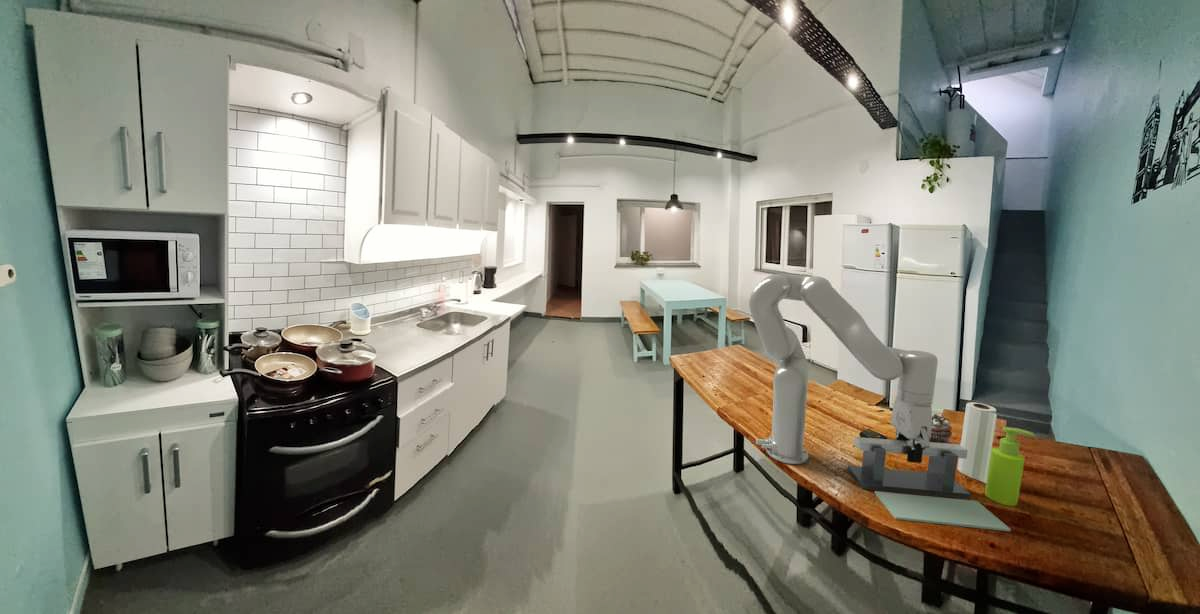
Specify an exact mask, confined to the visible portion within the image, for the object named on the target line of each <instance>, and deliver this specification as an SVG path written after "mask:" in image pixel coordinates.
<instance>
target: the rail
mask: <svg viewBox="0 0 1200 614" xmlns="http://www.w3.org/2000/svg"><path fill="white" fill-rule="evenodd" d="M917 443H919V441H915V444H917ZM930 445H931V446H930V447H928V448H926V449H925V450H924V451H923V454H922V456H927V457H929V456H939V457H943V456H944V453H955V454H956V455H957V456H958V459H959V458H965V459H967V452H968V450H967V449H965V448H964V447H963V446H961V443H960V444H958V443H933V442H930ZM854 446H855V447H856V448H857V449H858V451H862V452H863V451H873V450H874V447H875V448H884V449H885V450H886V454H888V453H889V454H902V455H908V448H910V441H905V440H896V439H888V438H887V439H876V438H862V437H860V436H855V437H854Z"/></svg>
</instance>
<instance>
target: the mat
mask: <svg viewBox="0 0 1200 614" xmlns="http://www.w3.org/2000/svg"><path fill="white" fill-rule="evenodd" d="M874 494H875V495H876V497H877V498H878V500H879V501H880V502H881V503H882V504H883V506H884V507H885V508H886V510H888V511H887V512H889V513H890V514H891V516H892V517H893V518H894V519H895V520H901V521H908V522H909V521H910V522H911V521H912V522H918V523H919V522H921V523H929V524H937V525H947V526H954V527H955V526H958V527H964V528H965V527H966V528H973V529H975V528H976V529H984V530H994V531H1003V532H1011V530H1012V529H1011V528H1010V527H1009V526H1007V525H1006V524H1005V523H1004V522H1003V521H1002V520H1001V519H999V518H998V517H997V516H995V515H994V514H993V513H992V512H991V511H990V510H988V509H987V508H986V507H985V506H984V505H982V504H981V503H980V502H979V501H978V500H971V499H962V498H952V497H941V496H931V495H921V494H910V493H900V492H890V491H879V490H874Z"/></svg>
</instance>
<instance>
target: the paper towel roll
mask: <svg viewBox="0 0 1200 614" xmlns="http://www.w3.org/2000/svg"><path fill="white" fill-rule="evenodd" d="M997 417H998V414H997V408H995V407H994V406H992V405H988V404H986V403H981V402H975V401H974V402H971V401H970V402H967V403H966V405H965V412H964V419H963V425H962V433H961V439H960V445H961V446H963V447H964V448H965V449H967V450H968V452H967V459H965V458H958V459H957V466H956V469H957V470H958V472H959V473H961V474H963V475H965V476H966V477H968V478H971V479H974V480H977V481H980V482H981V483H984V484H986V483H987V476H988V470H989V463H990V457H991V450H992V448H993V443H994V439H995V431H996V424H997Z"/></svg>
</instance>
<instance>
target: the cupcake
mask: <svg viewBox="0 0 1200 614" xmlns="http://www.w3.org/2000/svg"><path fill="white" fill-rule="evenodd" d="M952 434H953V433H952V426H951V425H950V421H949V419H948V418H946V417H943V416H939V415H938V414H937V413H932V429H931V436H930V439H929V442H933V443H947V444H949V440H950V439H951V437H952ZM917 438H920V436H918V437H917Z"/></svg>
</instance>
